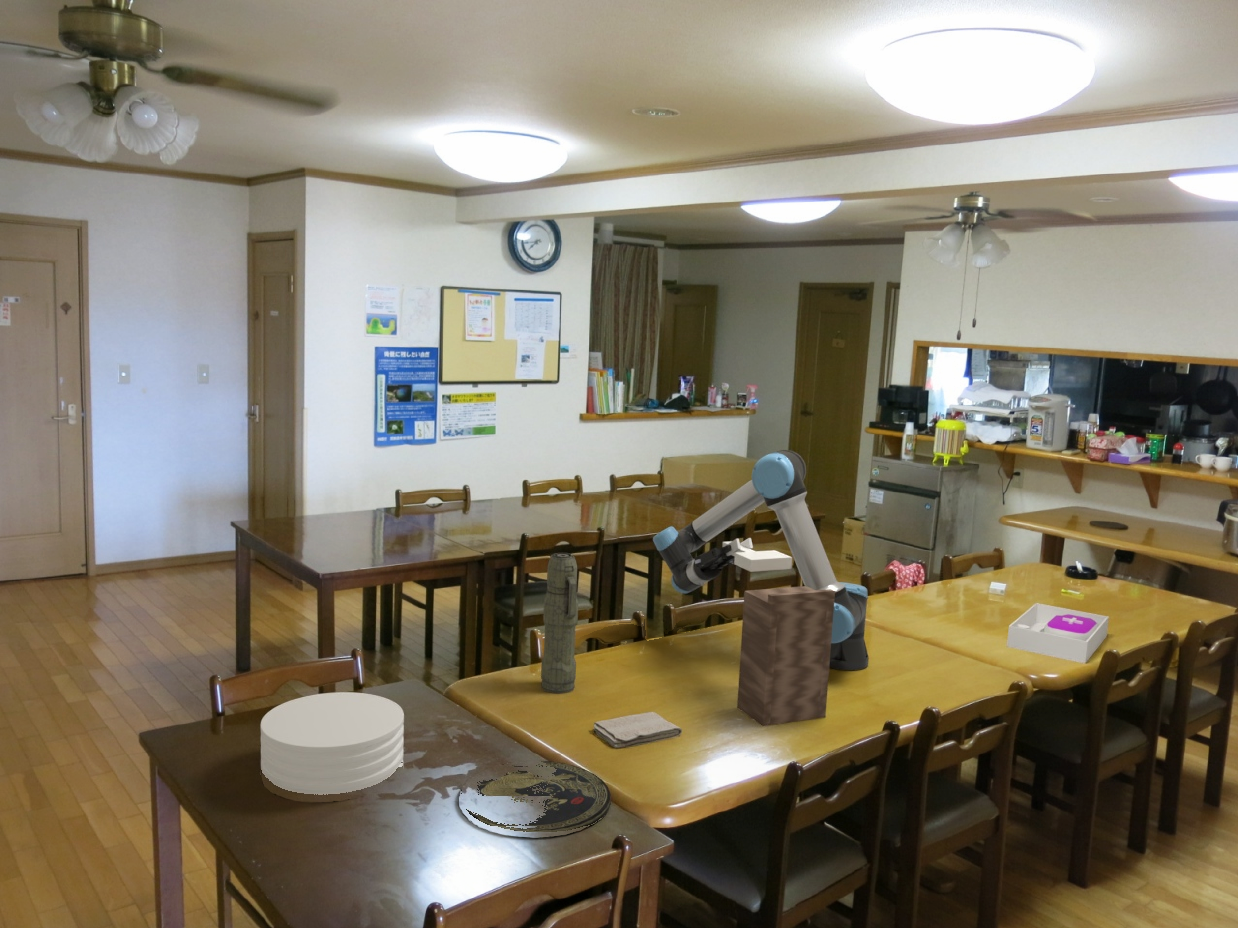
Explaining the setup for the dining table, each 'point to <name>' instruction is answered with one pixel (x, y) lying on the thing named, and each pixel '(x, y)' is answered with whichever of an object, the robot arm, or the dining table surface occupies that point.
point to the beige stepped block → (760, 559)
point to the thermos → (560, 625)
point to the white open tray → (1058, 632)
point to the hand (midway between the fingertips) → (744, 543)
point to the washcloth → (635, 730)
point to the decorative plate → (554, 797)
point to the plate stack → (332, 742)
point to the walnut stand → (785, 654)
